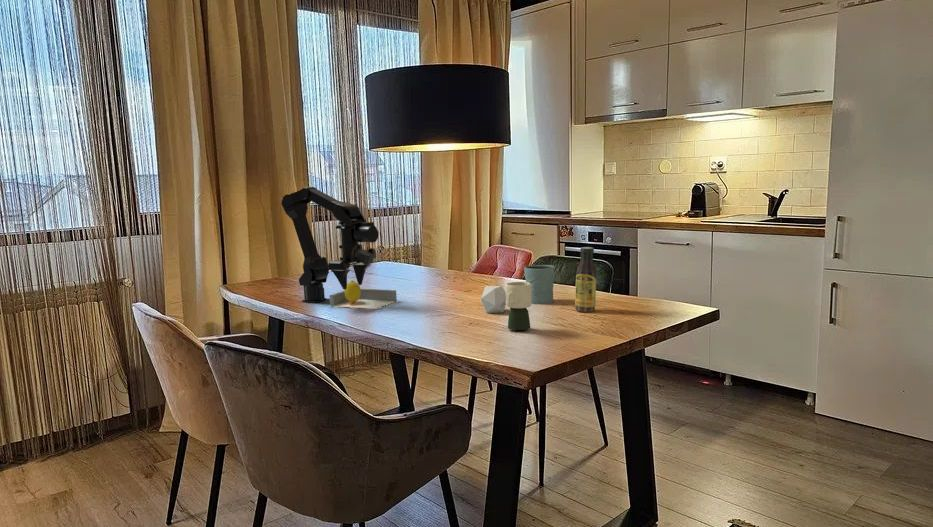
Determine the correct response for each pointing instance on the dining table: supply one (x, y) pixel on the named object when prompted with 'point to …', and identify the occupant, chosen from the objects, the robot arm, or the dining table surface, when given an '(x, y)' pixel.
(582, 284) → the sauce bottle
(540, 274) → the blue grey cup
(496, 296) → the die
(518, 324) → the character mug
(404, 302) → the dining table surface
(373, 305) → the arena
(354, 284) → the lemon
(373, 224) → the robot arm
